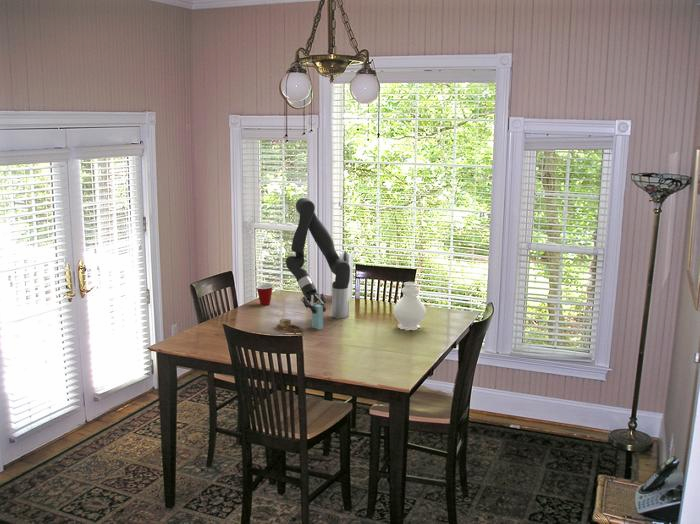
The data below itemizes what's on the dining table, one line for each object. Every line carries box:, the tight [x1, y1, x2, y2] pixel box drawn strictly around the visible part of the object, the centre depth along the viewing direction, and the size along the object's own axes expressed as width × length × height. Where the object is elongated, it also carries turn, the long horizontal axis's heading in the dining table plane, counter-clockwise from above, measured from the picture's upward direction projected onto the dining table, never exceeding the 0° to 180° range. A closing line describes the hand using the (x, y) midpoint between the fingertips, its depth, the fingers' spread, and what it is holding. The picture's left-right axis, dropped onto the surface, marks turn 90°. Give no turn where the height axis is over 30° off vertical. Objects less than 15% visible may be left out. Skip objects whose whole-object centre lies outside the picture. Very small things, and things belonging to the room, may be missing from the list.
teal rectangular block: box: [311, 303, 324, 330], centre depth 388 cm, size 3×6×13 cm, turn 40°
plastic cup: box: [255, 283, 274, 307], centre depth 437 cm, size 11×11×12 cm
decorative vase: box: [393, 281, 427, 331], centre depth 395 cm, size 18×18×25 cm
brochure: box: [339, 249, 354, 301], centre depth 455 cm, size 14×6×30 cm, turn 168°
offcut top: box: [279, 317, 292, 325], centre depth 388 cm, size 5×4×2 cm
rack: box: [272, 323, 315, 336], centre depth 384 cm, size 14×21×3 cm, turn 40°
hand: (320, 311), depth 387 cm, fingers open, 6 cm apart
